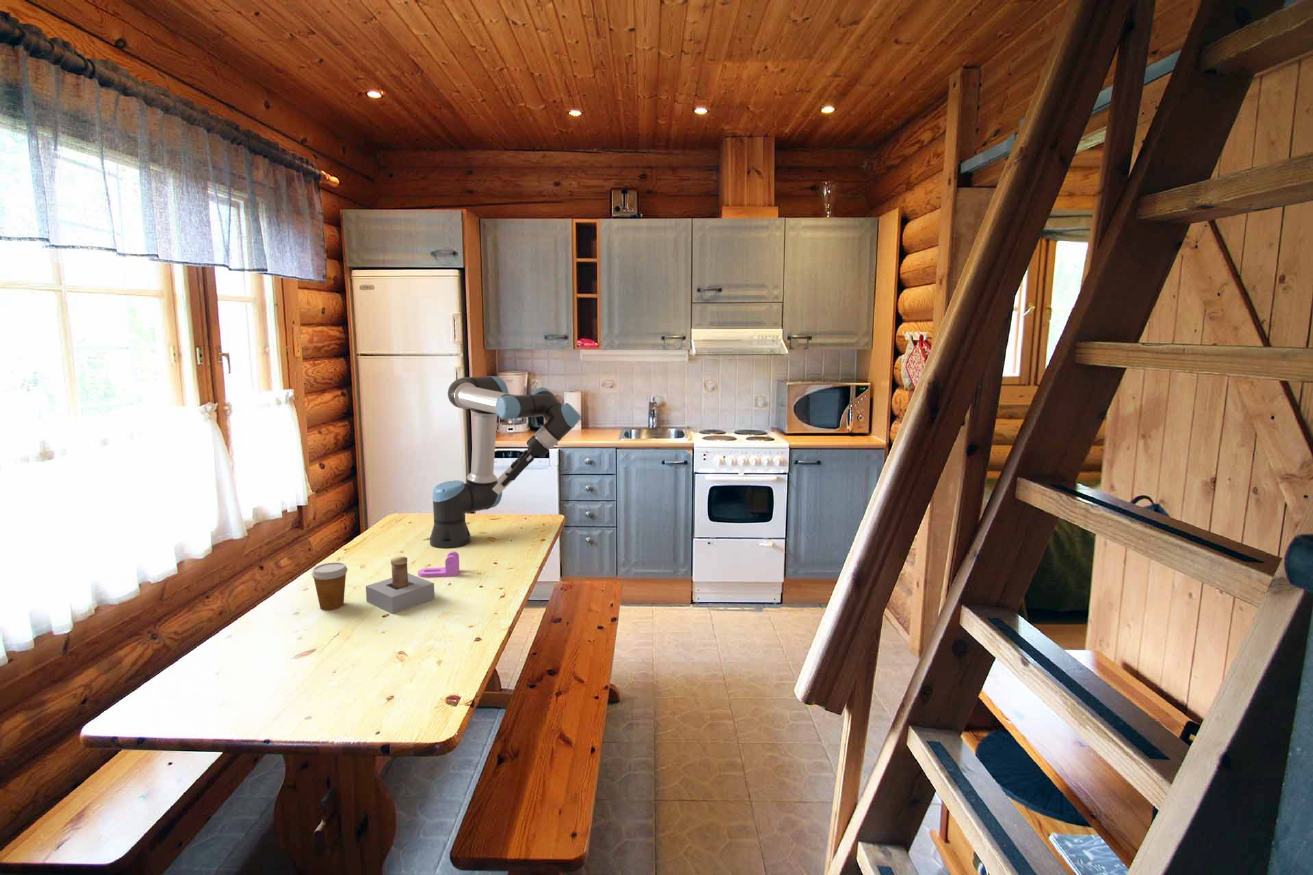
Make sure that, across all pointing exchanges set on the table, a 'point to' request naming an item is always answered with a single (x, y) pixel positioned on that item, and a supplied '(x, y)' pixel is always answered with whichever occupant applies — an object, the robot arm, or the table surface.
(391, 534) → the table surface
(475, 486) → the robot arm
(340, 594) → the disposable coffee cup
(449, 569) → the bracket
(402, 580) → the walnut pin
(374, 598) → the socket block
